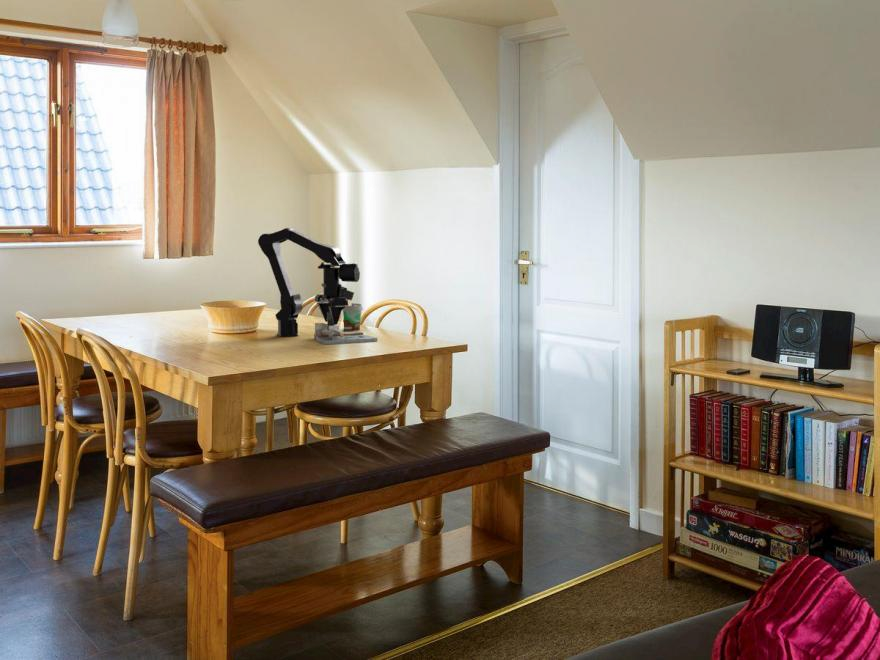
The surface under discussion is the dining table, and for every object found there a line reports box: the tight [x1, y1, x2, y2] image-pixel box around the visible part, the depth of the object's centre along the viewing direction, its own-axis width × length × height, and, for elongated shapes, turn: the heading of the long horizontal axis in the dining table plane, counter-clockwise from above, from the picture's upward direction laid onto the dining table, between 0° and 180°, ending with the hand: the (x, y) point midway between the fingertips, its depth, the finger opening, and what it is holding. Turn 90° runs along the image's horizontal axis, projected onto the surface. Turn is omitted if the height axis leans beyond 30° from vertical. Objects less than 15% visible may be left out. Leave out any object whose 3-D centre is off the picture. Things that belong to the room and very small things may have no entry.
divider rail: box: [313, 322, 364, 339], centre depth 335 cm, size 18×13×6 cm
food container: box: [342, 303, 364, 332], centre depth 361 cm, size 12×6×10 cm, turn 168°
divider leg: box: [326, 311, 345, 337], centre depth 334 cm, size 4×13×8 cm, turn 28°
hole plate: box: [315, 334, 378, 345], centre depth 330 cm, size 20×10×1 cm, turn 118°
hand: (331, 323), depth 337 cm, fingers open, 9 cm apart
